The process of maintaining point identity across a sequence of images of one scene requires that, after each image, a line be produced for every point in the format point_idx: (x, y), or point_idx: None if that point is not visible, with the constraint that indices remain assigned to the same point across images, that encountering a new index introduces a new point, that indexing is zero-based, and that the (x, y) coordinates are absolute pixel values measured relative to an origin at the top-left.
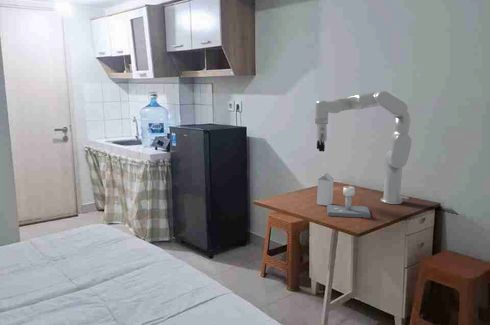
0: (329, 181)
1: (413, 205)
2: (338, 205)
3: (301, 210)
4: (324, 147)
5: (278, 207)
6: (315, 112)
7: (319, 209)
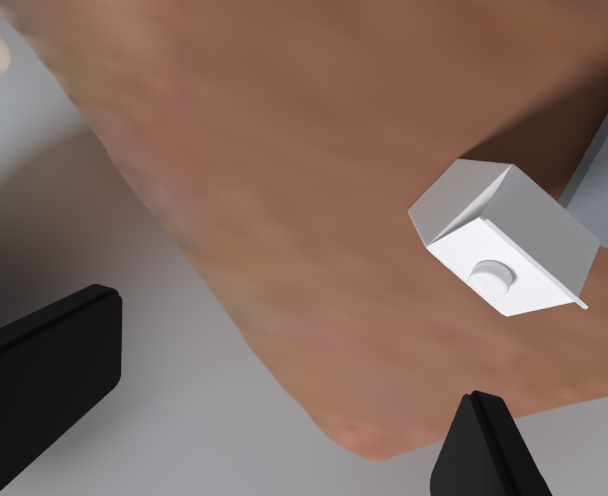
0: (597, 239)
1: None
2: (596, 167)
3: (543, 364)
4: (543, 486)
5: None
6: None
7: None
